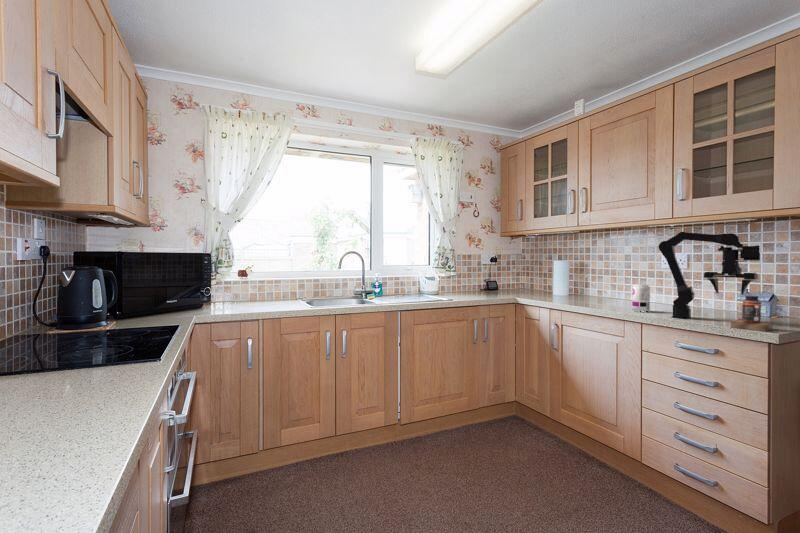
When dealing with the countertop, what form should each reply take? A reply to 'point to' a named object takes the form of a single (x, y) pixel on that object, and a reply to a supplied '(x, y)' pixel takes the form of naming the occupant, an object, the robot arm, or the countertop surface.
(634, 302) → the supplement can
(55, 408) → the countertop surface
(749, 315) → the supplement bottle
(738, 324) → the trivet
